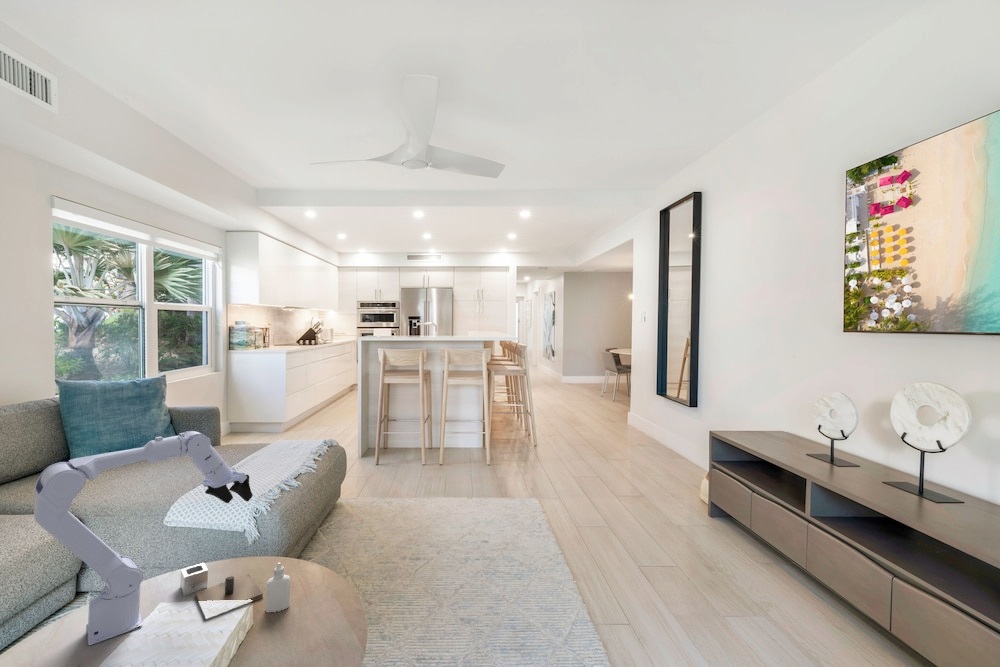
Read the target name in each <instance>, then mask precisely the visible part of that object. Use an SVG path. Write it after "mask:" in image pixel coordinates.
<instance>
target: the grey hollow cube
mask: <svg viewBox="0 0 1000 667" xmlns="http://www.w3.org/2000/svg"><path fill="white" fill-rule="evenodd" d="M208 574H209V569H208V568H207V566H206V564H205V562H202V563H198V564H195V565H194V564H193V565H191V566H188V567H185V568H181V569H180V582H179V584H180V585H179V588H180V590H181V593H182V594H183V596H187V595H189V594H192V593H196V592H198V591H201V590H204V589H207V588H208V581H209V580H208V577H209V575H208Z"/></svg>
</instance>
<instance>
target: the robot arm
mask: <svg viewBox="0 0 1000 667" xmlns="http://www.w3.org/2000/svg"><path fill="white" fill-rule="evenodd" d="M211 442H212V440H211V438H210V437H208V436H207V435H205V434H204V433H201V432H199V431H195V430H186V431H183V432H181V433H180V432H179V434H178V435H173V436H167V437H163V436H155V438H154V439H152V440H148V442H146V444H145V445H143V446H141V447H135V448H129V449H124V450H123V449H122V450H117V451H111V452H105V453H99V454H94V455H93V454H92V455H87V456H81V457H75V458H72V459H69V460H68V461H59V462H56V463H53V464H51V465H49V466H47V467H46V468H45V469H43V471H42V472H41V473H40V474H39V477H38V478H37V480H36V483H35V484H34V506H33V507H34V509H33V518H34V521H35V522H36V523H37V525H39V526H40V527H42V528H43V529H44V530H45V531H46V532H48V533H49V534H50V535H51V536H52V537H54V538H55V539H56V541H58V542H60V543H61V544H62V545H63V546H65V547H66V548H67V549H68V550H69V551H70V552H71V553H72V554H74V555H75V556H76V557H78V559H80V560H81V561H82V562H84V563H85V564H86V565H88V567H89V568H91V569H92V570H93V571H94V572H96V574H97V575H98V576H99V577H100V580H101V581H102V582H103V583H104V584H105V585H104V586H103V588H102V591H101V592H100V594H99V595H97V596H95V597H93V598H92V597H91V598H90V599H89V600H88V619H87V620H88V621H87V623H86V625H85V627H86V628H85V633H86V634H87V642H88V643H87V644H88V646H93V645H95V644H99V643H100V642H103V641H107V640H108V639H111V638H114V637H117V636H120V635H122V634H125V633H127V632H131V631H133V630H136V629H137V628H136V627H137V626H138V625H139V624H140V623H143V620H142V615H141V611H140V605H141V604H140V601H141V600H140V599H141V584H142V582H143V579H144V573H143V570H142V569H141V568H139V567H138V566H137V565H136V564H135V562H134V560H133V558H132V557H131V556H128V555H122V554H119V553H118V552H117V551H116V550H114V549H112V548H111V547H110V546H109V545H108V544H107V543H105V542H104V540H102V539H101V538H100V537H99V536H98V535H97V534H95V533H94V532H93V530H91V529H90V528H89V527H87V525H85V524H84V523H83V522H82V521H80V519H78V518H77V517H76V516H75V515H74V514H73V513H72V512H70V511H69V510H70V508H71V505H72V503H73V501H74V500H75V498H76V497H77V496H79V494H80V493H81V492H82V490H83V489H84V487H85V486H86V483H87V479H88V480H89V481H90V482H92V481H94V480H95V479H96V478H97V477H98V476H99V475H100V474H101V473H102V472H104V471H106V470H109V469H114V468H119V467H122V466H126V465H129V464H132V463H133V464H134V463H137V462H142V461H147V462H149V463H151V464H154V463H158V462H162V461H167V460H171V459H176V458H180V457H183V456H186V455H187V456H189V458H190V459H191V460H192V463H193V464H194V465H195V466H196V468H197V469H198V470H199V472H201V474H202V475H203V476H204V477H205V478H204V479H203V480H202V481H201V482H200V484H201V485H203V487H204V488H207V489H206V490H205V494H208V495H210V496H214V497H215V498H217V499H218V500H220V501H222V502H224V503H225V504H230V502H231V501H232V500H233V499H234V496H233V494H232V492H233V493H235V494H236V495H238V496H239V497H240V498H241V499H242V500H243V501H246V502H249V501H250V500H251V499H252V498H253V493H252V490H251V486H250V475H249V474H246V473H245V472H239V471H236V468H235V467H233V466H232V467H230V466H229V465H228V464H227V462H226V461H225V460H224V459H223V457H222V456H221V454H220V453H219V452H218V451H217V450H216V448H214V447H213V446H212V444H211ZM232 483H233V484H232ZM228 484H232V486H231V487H230V488H228V486H227V485H228ZM135 628H136V629H135Z"/></svg>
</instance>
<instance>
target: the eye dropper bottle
mask: <svg viewBox="0 0 1000 667" xmlns="http://www.w3.org/2000/svg"><path fill="white" fill-rule="evenodd" d="M265 590H266V591H265V613H267V612H274V613H277V612H276V611H278V612H281V610H282V611H284V610H286V609H287V608H289V607H290V600H291V599H290V598H291V576H289V575H288V574H285V567H284V566H283V565H282V563H281V562H277V565H276V567H274V569H273V577H271V578H269V579H268V580H267V581H266V588H265Z"/></svg>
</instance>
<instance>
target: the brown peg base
mask: <svg viewBox="0 0 1000 667" xmlns="http://www.w3.org/2000/svg"><path fill="white" fill-rule="evenodd" d="M224 580H225V581H224V582H221V583H219V584H216V585H213V586H210V587H207V588H204V589H202V590H199V591H196V592H195V598H196V601H197V600H198V601H207V600H212V601H213V600H248V599H251V600H253V602H256V601H258V600H261V599H263V594H264V593H263V592H262V590H261V589H260V587H259V586H258V584H257V583H256V581H255V580H254V579H253V578H252V576H251V574H250V573H248V574H245V575H242V576H239V577H236V578H235V576H232V575H229V576H227V577H226V578H225V579H224ZM260 598H261V599H260ZM198 601H197V602H198Z"/></svg>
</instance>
